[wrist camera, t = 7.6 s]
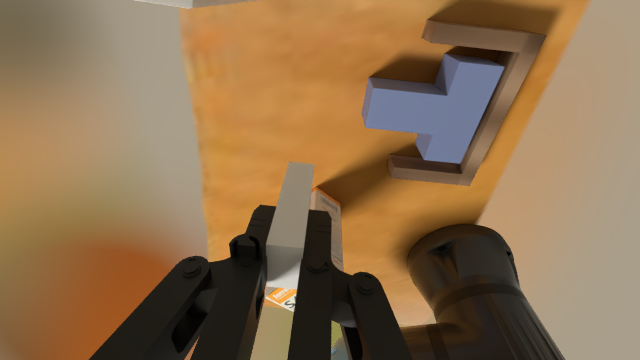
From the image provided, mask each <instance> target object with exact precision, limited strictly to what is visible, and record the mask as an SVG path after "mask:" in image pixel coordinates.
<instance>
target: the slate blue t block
mask: <svg viewBox="0 0 640 360" xmlns="http://www.w3.org/2000/svg"><path fill="white" fill-rule="evenodd" d="M503 69H504V66H502V65H499V64H497V63H495V62H492V61H490V60H488V59H486V58H481V57H472V56H463V55H454V54H445V53H444V56H443V59H442V62H441V65H440V68H439V71H438V74H437V77H436V81H435V84H429V83H420V82H411V81H402V80H392V79H383V78H374V77H369V79H368V84H367V89H366V94H365V100H364V105H363V110H362V116H363V120H364V124H365V128H373V129H383V130H392V131H402V132H411V133H418V135H417V138H416V141H415V144H416V146H417V148H418V150H419V152H420V154H421V155H422V157H423V159H424V160H430V161H439V162H449V163H459V164H460V163H461V161H462V159H463V156H464V154H465V152H466V150H467V148H468V146H469V143H470V141H471V139H472V137H473V135H474V132H475V130H476V128H477V126H478V124H479V122H480V119H481V117H482V115H483V113H484V111H485V109H486V106H487V104H488V102H489V100H490V98H491V96H492V93H493V91H494V89H495V87H496V85H497V82H498V80H499V78H500V76H501V74H502V72H503Z"/></svg>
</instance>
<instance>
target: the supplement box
mask: <svg viewBox="0 0 640 360" xmlns="http://www.w3.org/2000/svg"><path fill="white" fill-rule="evenodd" d="M310 209H311V210H321V211H328V212H329V214H330V216H331V218H332V231H331V259H332V262H333V264H334V265H335V266H336V267H337V268H338V269H339V270H341V271H342V272H343V252H342V229H341V209H340V203H339V202H337V201H336V200H334V199H333V198H331V197H330V196H329V195H327V194H326V193H324V192H323V191H322V190H320V189H319V188H318V187H315V188H314V189H313V190H312V193H311V203H310ZM296 293H297V289H287V288H277V287H267V289H266V293H265V298H266V299H269V300H271V301H273V302H275V303H277V304H278V305H280V306H282V307H284V308H286V309H288V310H291V311H293V312H294V308H295V301H296Z"/></svg>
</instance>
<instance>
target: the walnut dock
mask: <svg viewBox="0 0 640 360" xmlns="http://www.w3.org/2000/svg"><path fill="white" fill-rule="evenodd" d="M546 36H547V35H542V34H537V33H532V32H527V31H519V30H510V29H502V28H493V27H484V26H475V25H466V24H458V23H449V22H440V21H431V20H427V21H426V24H425V28H424V32H423V35H422V38H423V39H425V40H427V41H429V42H431V43H439V44H448V45H456V46H465V47H474V48H483V49H492V50H501V52H500V54H499V57H498V59H497V61H496V63H497V64H499V65H502V66H504V69H503V72H502V74H501V76H500V78H499V80H498V82H497V85H496V87H495V89H494V91H493V93H492V96H491V98H490V100H489V102H488V104H487V106H486V109H485V111H484V113H483V115H482V117H481V119H480V122H479V124H478V126H477V128H476V130H475V132H474V135H473V137H472V139H471V141H470V143H469V146H468V148H467V150H466V152H465V154H464V156H463V159H462V161H461V163H460V164H459V163H449V162H439V161H430V160H424V159H423V158H419V157H409V156H399V155H390V154H389V158H388V161H387V168H388V171H389V174H390V177H391V178H396V179H406V180H416V181H425V182H435V183H445V184H455V185H465V186H470V184H471V182H472V180H473V178H474V176H475V174H476V172H477V170H478V168H479V167H480V165H481V163H482V161H483V159H484V157H485V155H486V153H487V151H488V149H489V147H490V145H491V143H492V141H493V139H494V137H495V135H496V133H497V131H498V129H499V127H500V126H501V124H502V122H503V120H504V118H505V116H506V114H507V112H508V110H509V108H510V106H511V104H512V102H513V100H514V98H515V96H516V94H517V92H518V90H519V88H520V86H521V84H522V83H523V81H524V79H525V77H526V75H527V73H528V71H529V69H530V67H531V65H532V63H533V61H534V59H535V57H536V55H537V53H538V51H539V49H540V47H541V45H542V43H543V42H544V40H545V38H546Z"/></svg>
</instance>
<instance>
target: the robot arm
mask: <svg viewBox="0 0 640 360" xmlns="http://www.w3.org/2000/svg"><path fill="white" fill-rule="evenodd" d="M313 172H314V164H306V163H296V162H289V165H288V168H287V172H286V175H285V179H284V182H283V186H282V189H281V193H280V196H279V200H278V203H277V207H276V206H267V205H260V206H259V207H257V208H256V209H255V210H254V212H253V214H252V217H251V220H250V222H249V225H248V227H247V230H246V232H245V234H241V235H238V236H237V237H235V238H234V239H232V241H231V242H230V243H229V247H230V254H231V257H230V258H227V259H225V260H221V261H215V262H208V260H207V259H205V258H204V257H201V256H193V257H188V258H186V259H183V260H182V261H180V262H179V263H178V264H177V265H176V266H175V267H174V268H173V269H172V270H171V272H169V274H168V275H167V276H166V277H165V278H164V279H163V280H162V281H161V282H160V283H159V284H158V285H157V286H156V287H155V289H154V290H153V291H152V292H151V293H150V294H149V295H148V296H147V297H146V298H145V299H144V300H143V302H142V303H141V304H140V305H139V306H138V307H137V308H136V309H135V310H134V311H133V312H132V313H131V315H130V316H129V317H128V318H127V319H126V320H125V321H124V322H123V323H122V324H121V325H120V326H119V328H117V330H116V331H115V332H114V333H113V334H112V335H111V336H110V337H109V338H108V339H107V341H105V343H104V344H103V345H102V346H101V347H100V348H99V349H98V350H97V351H96V352H95V353H94V354H93V356H92V357H91V358H90V359H89V360H184V359H185V357H186V356H187V354H188V353H189V351H190V350H191V348H192V347H193V345H194V343H195V342H196V340H197V339H198V337H199V339H198V341H197V344H196V346H195V349H194V351H193V354H192V356H191V359H190V360H250V357H251V353H252V349H253V345H254V341H255V336H256V332H257V328H258V324H259V319H260V315H261V310H262V307H263V302H264V290H265V286H266V282H267V287H277V288H287V289H297V293H296V301H295V308H294V315H293V324H292V330H291V338H290V346H289V352H288V360H565V358H564V357H563V355H562V354H561V352H560V351H559V349H558V348H557V346H556V345H555V343H554V341H553V340H552V338H551V337H550V335H549V333H548V332H547V330H546V329H545V327H544V326H543V324H542V323H541V321H540V320H539V318H538V316H537V315H536V313H535V312H534V310H533V309H532V307H531V306H530V304H529V303H528V301H527V299H526V298H525V296H524V294H523V293H522V291H521V289H520V284H519V280H518V275H517V271H516V267H515V264H514V258H513V254H512V252H511V249H510V248H509V246H508V245H507V243H506V242H505V240H504V239H503V237H502V236H501V235H500V234H498V233H497V232H496V231H494V230H492V229H490V228H487V227H484V226H479V225H456V226H450V227H446V228H443V229H440V230H437V231H435V232H433V233H431V234H429V235H427V236H426V237H424V238H423V239H421V240H420V241H419V242H418V243H417V244H416V245H415V246H414V247H413V248H412V250H411V251H410V253H409V256H408V260H407V264H408V269H409V272H410V276H411V279H412V281H413V283H414V284H415V286H416V287H417V288H418V290H419V291H420V293H421V294H422V296H423V297H424V299H425V300H426V302H427V303H428V304H429V306H430V307H431V309H432V310H433V313H434V316H435V319H436V322H437V323H436V324H428V325H418V326H409V327H399V325H398V323H397V320H396V318H395V316H394V313H393V311H392V309H391V306H390V304H389V301H388V299H387V297H386V294H385V292H384V290H383V287H382V285H381V283H380V282H379V280H378V279H377V278H376V277H375V276H373V275H372V274H369V273H367V272H359V273H355V274H354V275H353V276H352V275H349V274H347V273H344V272H342V271H341V270H339V269H338V268H337V267H336V266H335V265H334V264H333V262H332V259H331V231H332V218H331V216H330V214H329V212H328V211H321V210H311V209H310V203H311V193H312V183H313ZM331 320H332V321H335V322H337V323H339V324H340V326H341V330H342V334H343V336H342V337H341V338H339V339H338V340H337V342H336V343H335V345H334V347H333V349H332V352H331Z"/></svg>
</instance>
